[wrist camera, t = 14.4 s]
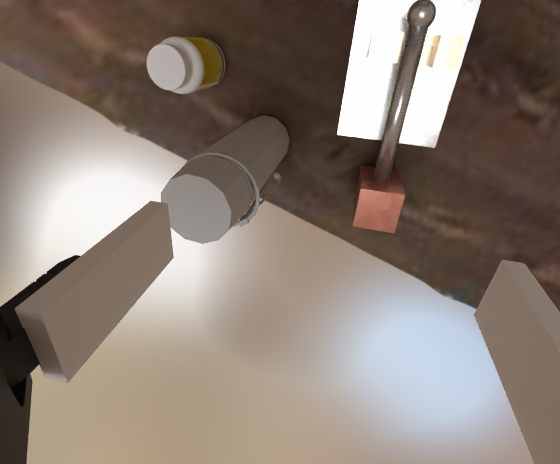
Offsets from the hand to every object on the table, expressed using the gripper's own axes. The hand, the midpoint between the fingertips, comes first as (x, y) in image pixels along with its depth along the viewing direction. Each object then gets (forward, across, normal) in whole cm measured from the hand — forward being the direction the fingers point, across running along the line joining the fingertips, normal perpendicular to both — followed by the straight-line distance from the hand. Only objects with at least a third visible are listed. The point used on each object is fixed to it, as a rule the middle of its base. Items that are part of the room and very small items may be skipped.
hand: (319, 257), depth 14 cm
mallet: (+35, +6, -1) cm, 36 cm away
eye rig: (+38, +6, +9) cm, 39 cm away
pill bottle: (+38, -20, +3) cm, 43 cm away
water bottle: (+38, -10, -7) cm, 40 cm away
